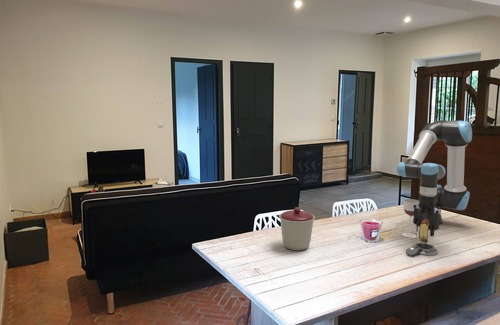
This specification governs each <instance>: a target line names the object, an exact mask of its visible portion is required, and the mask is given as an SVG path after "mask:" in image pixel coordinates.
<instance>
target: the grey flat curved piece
mask: <svg viewBox="0 0 500 325" xmlns="http://www.w3.org/2000/svg"><path fill="white" fill-rule="evenodd" d="M405 253H406V255H407V256H409V257H410V256H414V255H416V254H417V255H419V256H425V257H427V256H428V257H431V256H436V255H437V254H438V250H437V249H436V248H435V246H434V245H432V244H429V243H424V242H416V243H413V245H411V246H410V247H408V248H406V249H405Z"/></svg>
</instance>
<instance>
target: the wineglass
mask: <svg viewBox="0 0 500 325" xmlns="http://www.w3.org/2000/svg"><path fill="white" fill-rule="evenodd" d="M402 201H403V202H402V203H403V211H404V213H405V214H406V215H408V216H409V227H408V228H409V230H408V232H406V233H404V232H403V233H402V236H403V237H406V238H409V239H412V238H415V239H416V238H417V234H416V233H415V234H414V233H411V231H412V230H411V229H412V219H413V218H412V217H413V216H414V207H413V205H415V204H419V199H413V198H405V199H403V200H402Z"/></svg>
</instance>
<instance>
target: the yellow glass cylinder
mask: <svg viewBox="0 0 500 325" xmlns="http://www.w3.org/2000/svg"><path fill="white" fill-rule="evenodd" d="M429 229H430V226H429V220H427V219H422V222H421V223H420V237H419V239H418V240H419V242H420V243H427V244H429V243H428V230H429Z"/></svg>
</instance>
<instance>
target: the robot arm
mask: <svg viewBox="0 0 500 325" xmlns="http://www.w3.org/2000/svg"><path fill="white" fill-rule="evenodd" d="M472 139H473V129H472V125H471V123H470V122H468V120H436V121H433V122H431V123H429V124H428V125H426V126H425V127H423V129H421V130H420V133H419V135H418V139H417V141H416V143H415V145H414V147H413V149H412V151H410V154H409V155H408V157H407V159H406V161H401V162H399V163H398V165H397V168H396V170H397V171H396V172H397V175H398V176H400V177H404V178H413V179H414V178H415V179H420V183H419V195H418V196H419V197H418V200H419V204H415V205H413V207H414V216H412V217H413V218H412V224H414V225H415V226H416V228H415V229H416V233H417V234H416V236H417V237H416V239H417V240H419V237H420V223H421V222H422V219H427V220H429V226H430V229H429V230H428V243H427V244H429V243H433V237H434V236H435V230H436V231H437V230H439V229H440V225H442V223H443V217H442V214H441V213H442V210H441V208H445V209H450V210H456V211H464V210H465V209H466V208H467V206H468V203H469V199H470V196H471V194H470V191H468V190H467V187H466V186H465V185H464V182H465V178H464V176H465V157H466V156H465V155H466V154H465V153H466V152H465V151H466V147H467V146H468V145H469V143H470V142H471V141H472ZM437 141H443V142H444V145H445V146H446V147H447V166H446V167H447V170H446V168H445V167H444V166H443V165H441V164H437V163H432V162H426V163H423V161H424V160H425V159H426V157H427V155H428V152H429V150H430V149H431V148H432V146H433V144H435V143H436V142H437ZM446 172H447V173H446ZM446 174H447V175H446ZM445 175H446V185H444V187H442V185H441V184H438V180H439V181H440V180H441V179H443V177H445Z"/></svg>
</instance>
